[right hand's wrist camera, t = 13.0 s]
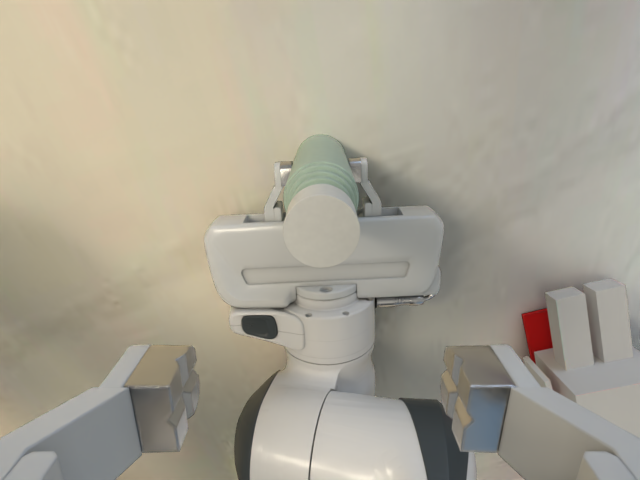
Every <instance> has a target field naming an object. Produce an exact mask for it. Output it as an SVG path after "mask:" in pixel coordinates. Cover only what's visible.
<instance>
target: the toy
mask: <svg viewBox="0 0 640 480" xmlns="http://www.w3.org/2000/svg"><path fill="white" fill-rule="evenodd" d="M583 291H584V293H583V292H581V291H579V290H578V289H576V288H574V287H573V286H572V287H567V288H563V289H558V290H553V291H549V292H545V298H546V304H547V308H546V309H541V310H537V311H533V312H529V313H524V314H522V318H523V323H524V328H525V333H526V338H527V343H528V348H529V353H530V358H531V359H530V358H529V357H528V356H525V357H523V360H524V364H525V366H526V367H527V369H528V370H529V371H530V373H531V374H532V375H533V377H534V378H535V379H536V381H537V382H538V383H539V385H540V386H541V387H548V388H550V389H552V390H554V391H555V392H557V393H559V394H561V395H563V396H564V397H566V398H568V399H570V400H572V401H573V402H575V403H577V404H579V405H581V406H582V407H584V408H586V409H588V410H590V411H592V412H593V413H595V414H597V415H599V416H601V417H602V418H604V419H606V420H608V421H610V422H611V423H613V424H615V425H617V426H619V427H620V428H622V429H624V430H626V431H628V432H629V433H631V434H633V435H635V436H637V437H639V438H640V351H639V350H638V349H636V348H635V347H633V346H632V340H631V331H630V321H629V312H628V302H627V293H626V285H624V284H622V283H620V282H618V281H616V280H614V279H612V278H609V279H604V280H599V281H595V282H590V283H586V284H583Z"/></svg>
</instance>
